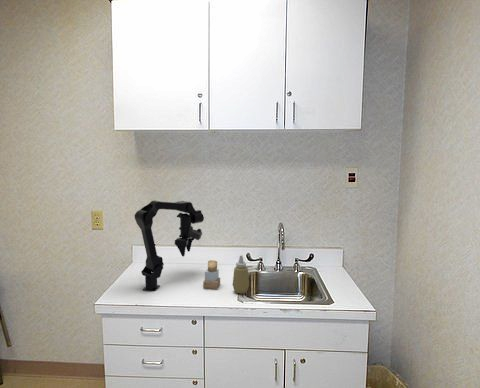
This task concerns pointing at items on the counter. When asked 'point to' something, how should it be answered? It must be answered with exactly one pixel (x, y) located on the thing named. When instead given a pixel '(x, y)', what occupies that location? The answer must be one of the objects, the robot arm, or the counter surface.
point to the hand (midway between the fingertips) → (186, 253)
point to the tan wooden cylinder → (212, 266)
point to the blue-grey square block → (211, 275)
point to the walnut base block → (211, 284)
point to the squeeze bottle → (240, 277)
